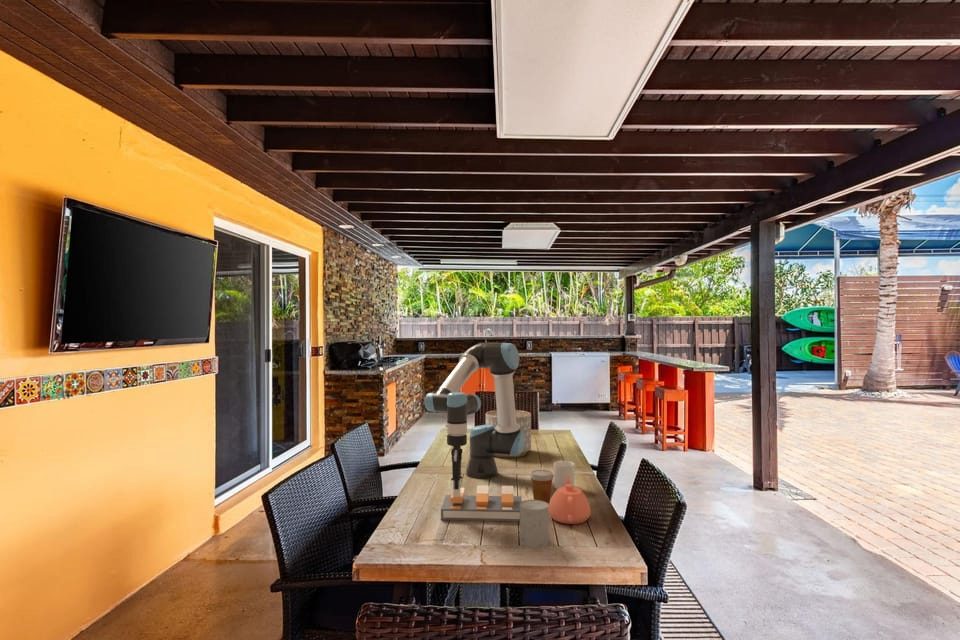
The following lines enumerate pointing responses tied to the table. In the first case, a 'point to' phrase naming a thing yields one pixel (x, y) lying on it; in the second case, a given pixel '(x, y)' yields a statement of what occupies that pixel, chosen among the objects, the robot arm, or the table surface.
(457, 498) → the block
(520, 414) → the planter
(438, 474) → the table surface
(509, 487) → the rocker
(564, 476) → the mug
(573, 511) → the teapot
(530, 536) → the grey cylinder
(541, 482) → the disposable coffee cup
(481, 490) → the rocker
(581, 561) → the table surface
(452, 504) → the console
